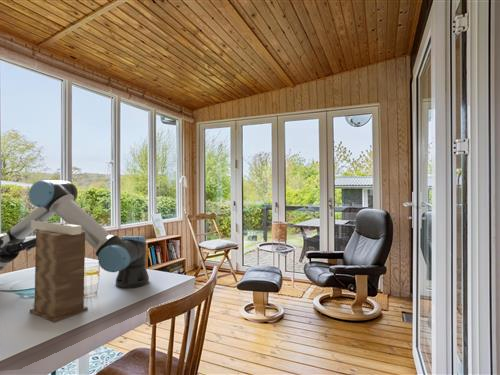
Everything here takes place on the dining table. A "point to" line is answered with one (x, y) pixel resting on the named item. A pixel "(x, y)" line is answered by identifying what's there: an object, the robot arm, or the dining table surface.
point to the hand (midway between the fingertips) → (27, 235)
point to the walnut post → (59, 275)
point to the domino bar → (56, 227)
